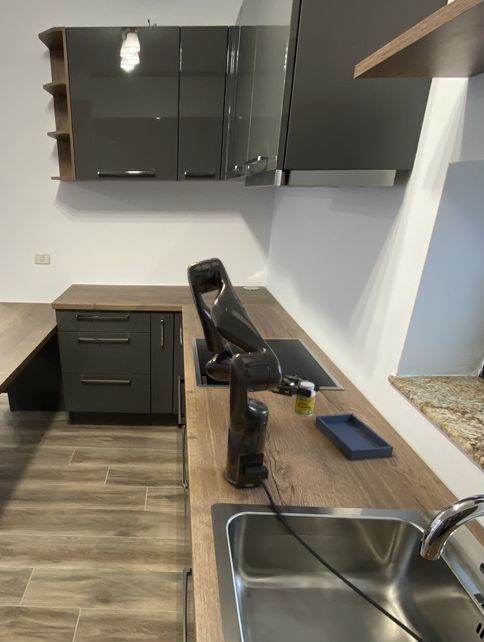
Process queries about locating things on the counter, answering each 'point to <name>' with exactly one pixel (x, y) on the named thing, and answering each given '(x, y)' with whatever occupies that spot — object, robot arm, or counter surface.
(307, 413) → the supplement bottle
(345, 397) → the counter surface
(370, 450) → the tray
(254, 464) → the robot arm
